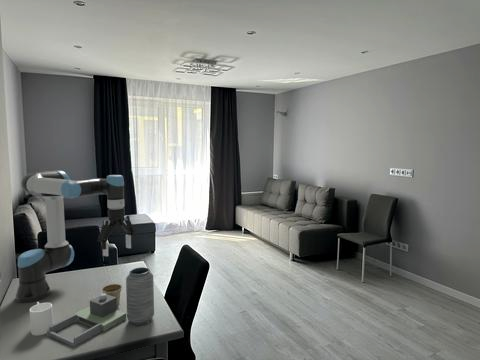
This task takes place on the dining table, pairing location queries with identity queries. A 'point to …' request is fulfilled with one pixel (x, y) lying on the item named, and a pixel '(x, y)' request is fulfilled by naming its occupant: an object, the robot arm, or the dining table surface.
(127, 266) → the dining table surface
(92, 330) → the square frame with panel
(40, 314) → the cup
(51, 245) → the robot arm
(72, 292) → the dining table surface
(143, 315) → the vase
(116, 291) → the flower pot
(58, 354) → the dining table surface
